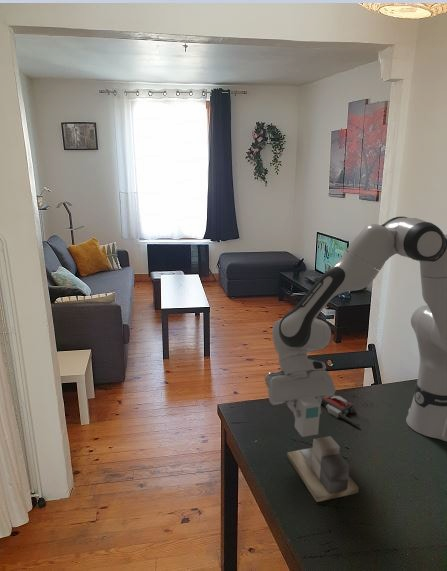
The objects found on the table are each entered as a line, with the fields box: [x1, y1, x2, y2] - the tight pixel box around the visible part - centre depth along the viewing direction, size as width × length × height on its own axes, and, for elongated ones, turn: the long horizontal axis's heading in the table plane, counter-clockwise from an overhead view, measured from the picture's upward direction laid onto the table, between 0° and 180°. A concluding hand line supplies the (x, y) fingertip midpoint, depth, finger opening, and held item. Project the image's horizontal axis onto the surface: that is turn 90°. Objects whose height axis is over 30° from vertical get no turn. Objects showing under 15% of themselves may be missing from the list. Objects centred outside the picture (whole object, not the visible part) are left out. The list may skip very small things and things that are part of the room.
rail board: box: [286, 435, 360, 503], centre depth 114 cm, size 12×18×11 cm, turn 16°
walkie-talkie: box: [321, 394, 360, 427], centre depth 146 cm, size 9×4×20 cm
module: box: [294, 396, 322, 438], centre depth 121 cm, size 5×5×10 cm
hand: (308, 415), depth 121 cm, fingers closed on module, 5 cm apart
